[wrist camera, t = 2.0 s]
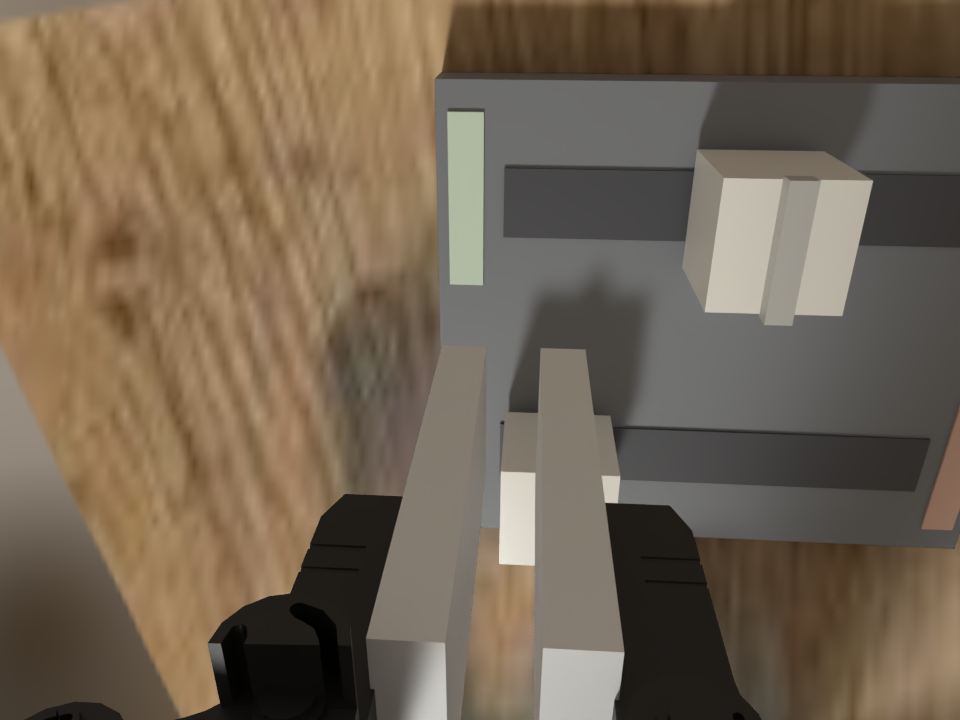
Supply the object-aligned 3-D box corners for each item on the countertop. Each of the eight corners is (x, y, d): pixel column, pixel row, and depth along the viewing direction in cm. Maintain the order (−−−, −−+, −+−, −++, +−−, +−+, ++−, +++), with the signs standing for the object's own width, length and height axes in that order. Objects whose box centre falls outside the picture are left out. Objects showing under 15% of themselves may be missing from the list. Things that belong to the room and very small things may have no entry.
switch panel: (932, 518, 33) (955, 550, 32) (449, 497, 35) (444, 527, 33) (1075, 78, 25) (1118, 86, 24) (441, 72, 27) (434, 79, 25)
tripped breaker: (800, 272, 26) (848, 327, 22) (681, 270, 27) (708, 323, 23) (824, 148, 25) (882, 182, 20) (697, 146, 25) (729, 179, 21)
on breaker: (602, 503, 31) (612, 583, 27) (503, 498, 31) (498, 577, 27) (610, 413, 29) (622, 484, 25) (505, 409, 30) (500, 479, 25)
